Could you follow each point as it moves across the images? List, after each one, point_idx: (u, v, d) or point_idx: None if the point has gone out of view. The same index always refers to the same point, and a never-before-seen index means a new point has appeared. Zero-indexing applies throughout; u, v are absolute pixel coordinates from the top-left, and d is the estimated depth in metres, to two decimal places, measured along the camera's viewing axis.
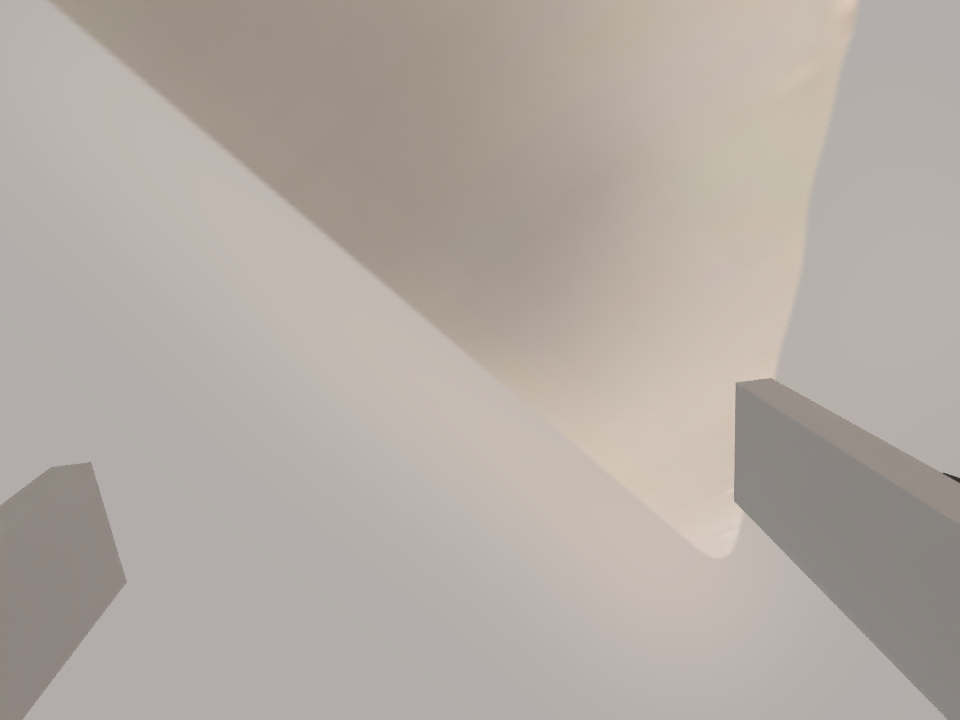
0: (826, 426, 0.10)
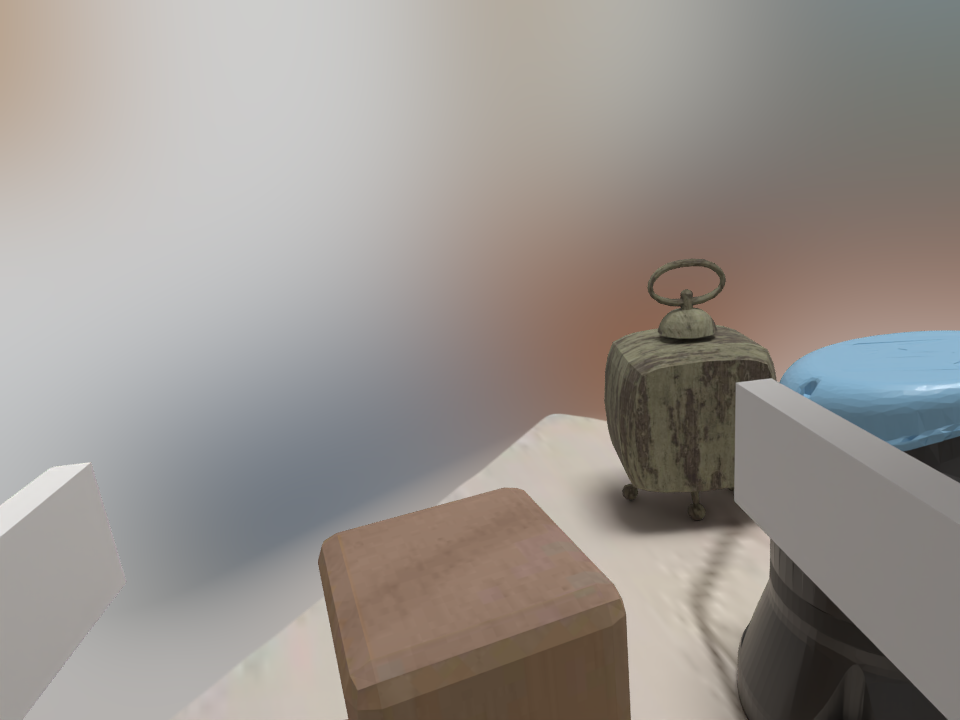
0: (826, 426, 0.10)
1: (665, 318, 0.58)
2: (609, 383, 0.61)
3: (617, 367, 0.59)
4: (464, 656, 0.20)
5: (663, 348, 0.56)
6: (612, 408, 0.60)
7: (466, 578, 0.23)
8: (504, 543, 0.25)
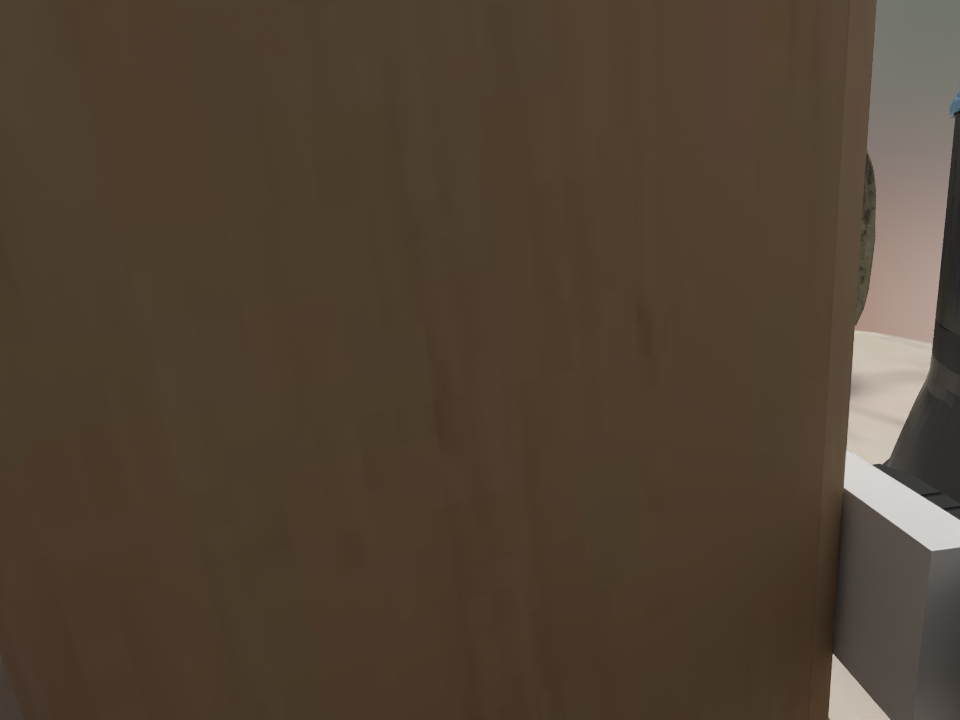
0: None
1: None
2: None
3: None
4: None
5: None
6: None
7: None
8: None
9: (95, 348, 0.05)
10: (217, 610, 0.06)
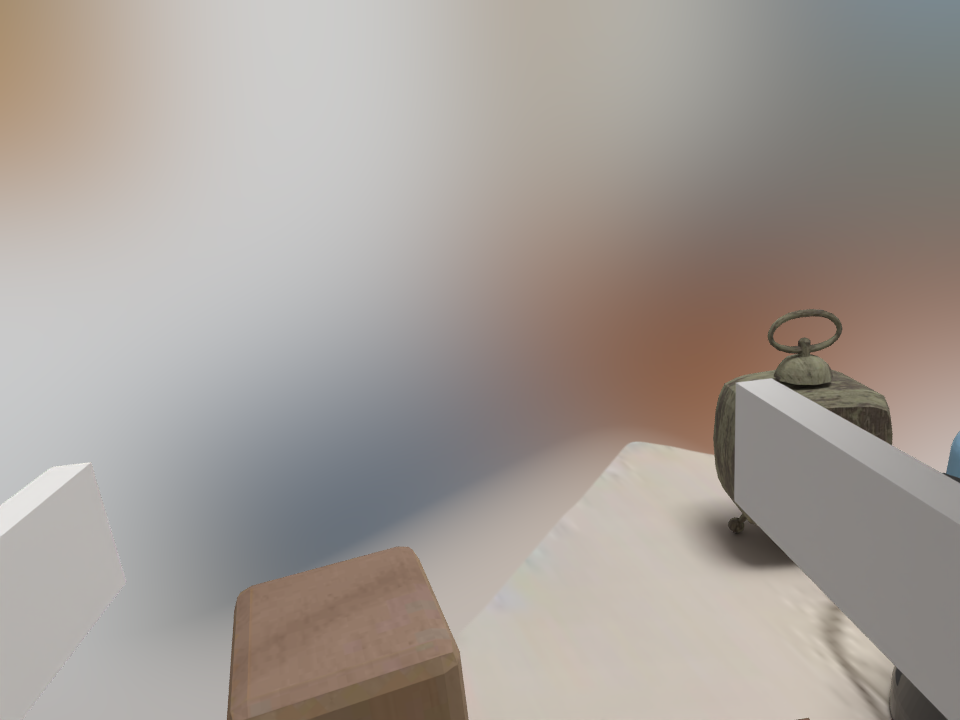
0: (826, 426, 0.10)
1: (782, 364, 0.61)
2: (723, 423, 0.65)
3: None
4: (319, 698, 0.26)
5: None
6: (728, 448, 0.63)
7: (338, 631, 0.29)
8: (378, 600, 0.31)
9: None
10: None
